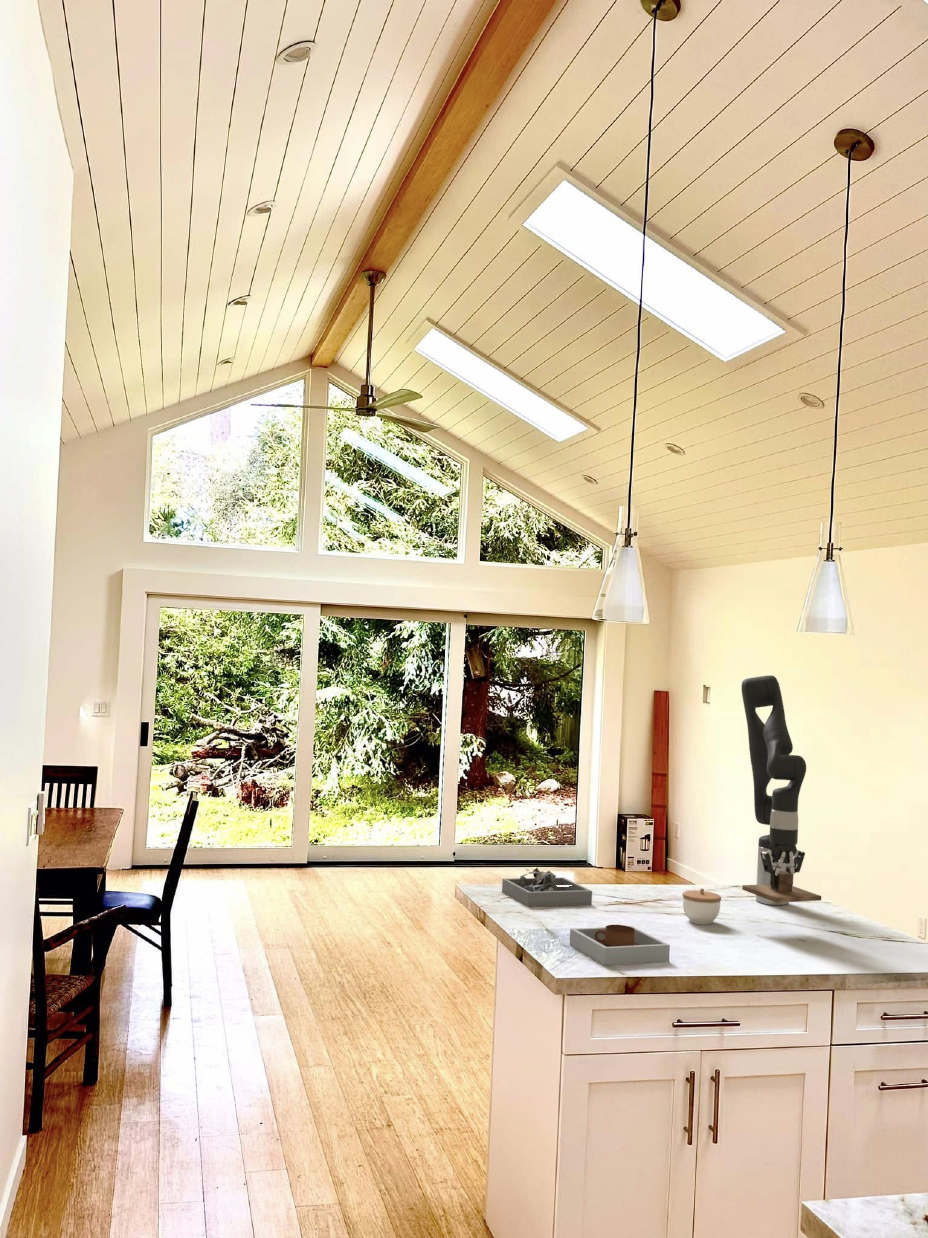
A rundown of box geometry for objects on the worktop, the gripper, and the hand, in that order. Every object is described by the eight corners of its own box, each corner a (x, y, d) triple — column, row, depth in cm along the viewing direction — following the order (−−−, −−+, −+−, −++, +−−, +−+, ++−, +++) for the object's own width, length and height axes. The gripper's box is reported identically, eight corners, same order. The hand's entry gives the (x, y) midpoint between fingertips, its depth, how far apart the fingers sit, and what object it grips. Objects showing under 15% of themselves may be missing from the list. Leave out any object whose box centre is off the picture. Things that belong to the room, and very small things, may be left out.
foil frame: (562, 890, 329) (563, 877, 329) (591, 904, 311) (592, 891, 311) (501, 891, 321) (502, 878, 321) (527, 906, 303) (528, 892, 304)
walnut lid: (785, 887, 300) (786, 866, 300) (821, 900, 286) (822, 877, 286) (742, 889, 295) (743, 867, 295) (776, 902, 281) (777, 879, 281)
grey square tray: (631, 941, 271) (632, 926, 271) (669, 961, 254) (669, 945, 254) (569, 944, 264) (570, 928, 264) (603, 965, 248) (604, 948, 248)
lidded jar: (673, 920, 298) (675, 886, 298) (696, 915, 305) (698, 883, 305) (704, 928, 290) (706, 894, 290) (727, 924, 297) (729, 890, 297)
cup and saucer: (603, 960, 252) (605, 935, 253) (588, 946, 264) (589, 922, 264) (650, 960, 255) (651, 935, 255) (633, 946, 266) (634, 922, 267)
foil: (503, 884, 317) (538, 855, 324) (518, 913, 320) (553, 883, 327) (525, 890, 307) (560, 860, 314) (540, 921, 309) (575, 890, 317)
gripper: (795, 823, 297) (793, 884, 297) (754, 824, 292) (751, 886, 291) (813, 828, 290) (811, 890, 290) (771, 829, 285) (769, 892, 284)
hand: (781, 887), depth 290 cm, fingers closed on walnut lid, 4 cm apart
